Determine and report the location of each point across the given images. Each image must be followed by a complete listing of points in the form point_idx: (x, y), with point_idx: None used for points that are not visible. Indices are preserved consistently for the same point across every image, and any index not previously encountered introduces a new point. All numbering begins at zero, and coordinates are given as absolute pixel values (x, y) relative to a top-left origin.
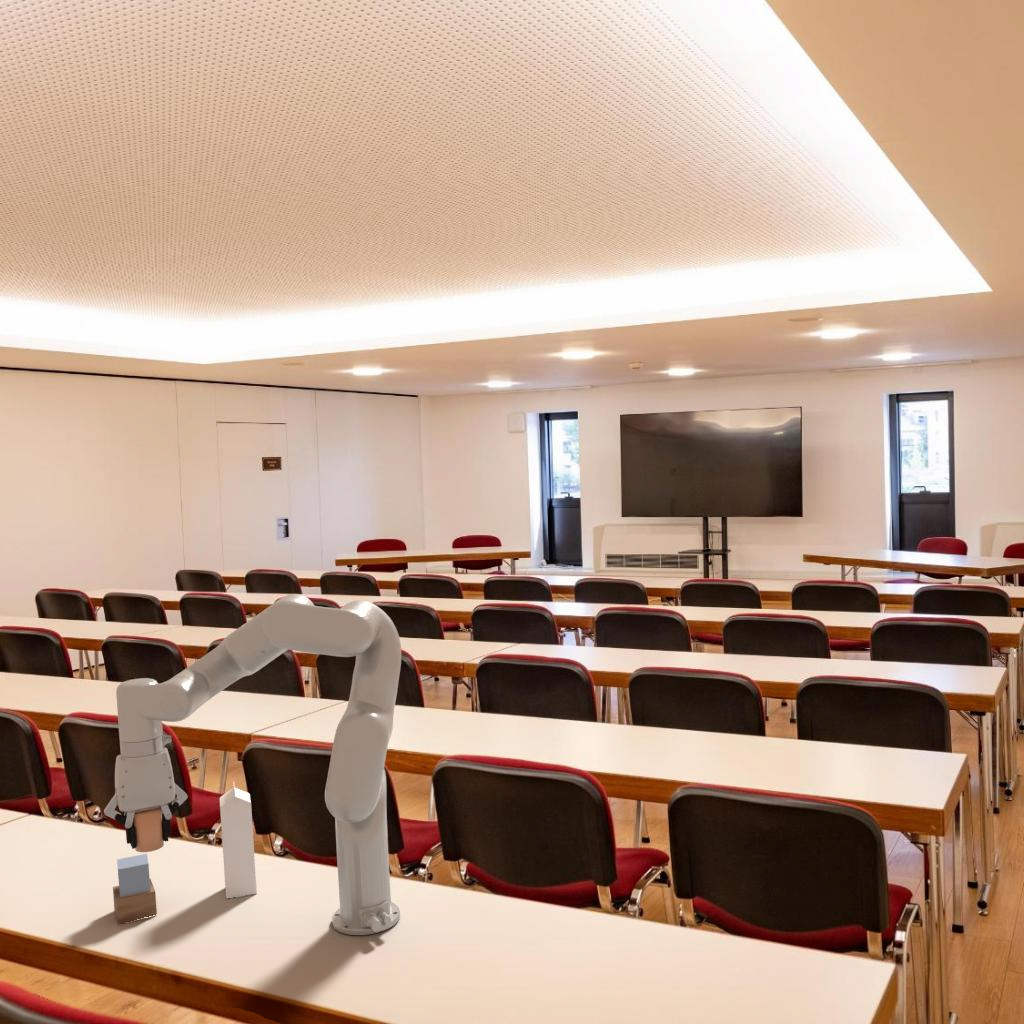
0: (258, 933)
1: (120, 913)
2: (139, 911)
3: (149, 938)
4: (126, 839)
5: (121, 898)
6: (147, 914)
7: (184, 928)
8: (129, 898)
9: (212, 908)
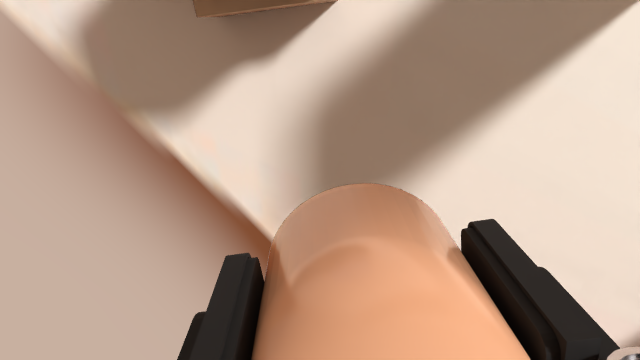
0: (568, 242)
1: (219, 15)
2: (282, 7)
3: (313, 154)
4: (195, 322)
5: (213, 7)
6: (307, 4)
7: (407, 135)
8: (245, 9)
9: (506, 31)
